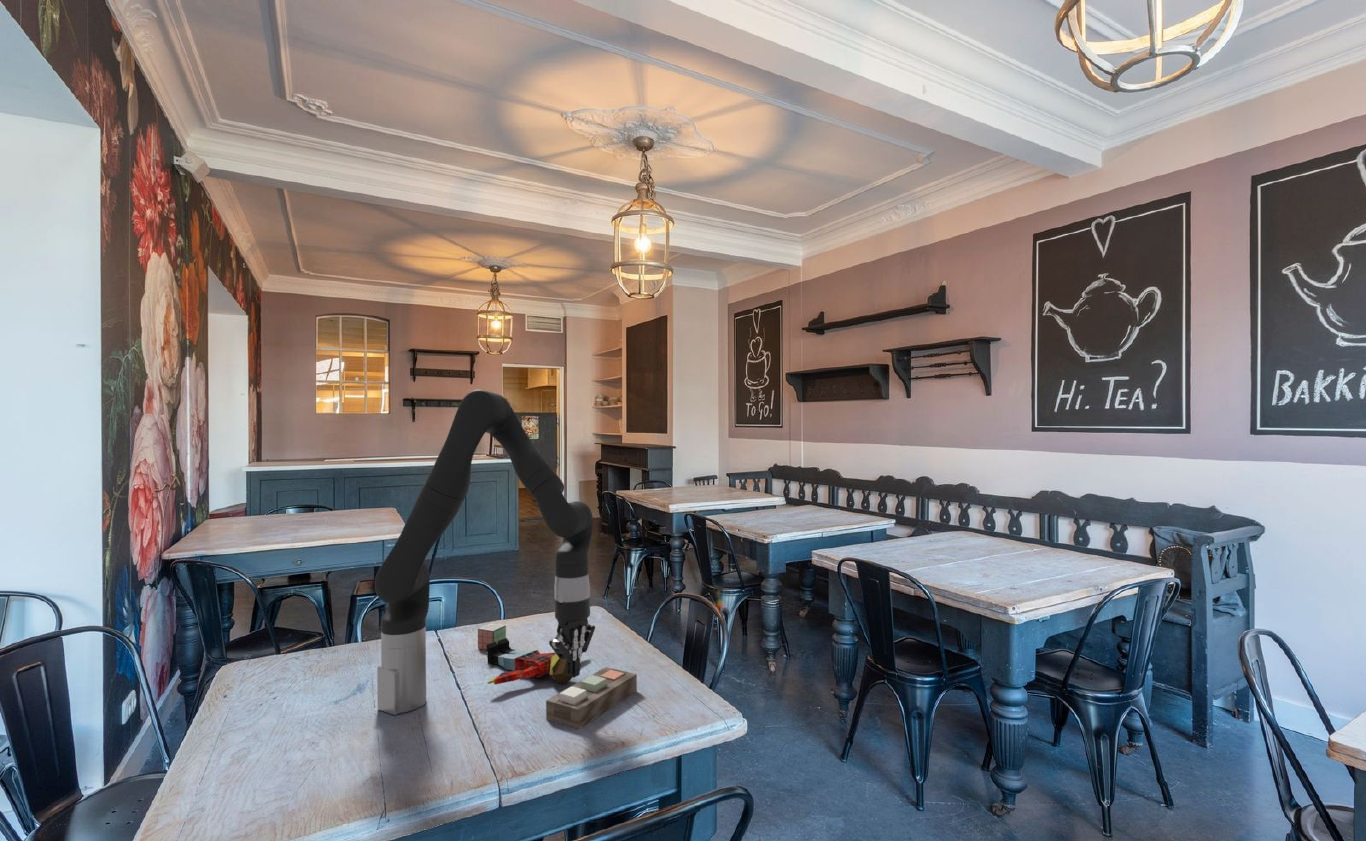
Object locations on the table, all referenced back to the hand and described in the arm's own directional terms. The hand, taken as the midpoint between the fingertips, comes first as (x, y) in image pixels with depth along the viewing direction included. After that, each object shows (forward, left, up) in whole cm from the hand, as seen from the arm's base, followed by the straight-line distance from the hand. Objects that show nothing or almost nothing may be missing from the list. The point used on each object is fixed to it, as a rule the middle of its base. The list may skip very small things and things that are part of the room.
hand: (573, 675), depth 135 cm
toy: (+14, +25, -9) cm, 30 cm away
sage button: (+7, 0, -6) cm, 9 cm away
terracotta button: (+14, 0, -8) cm, 16 cm away
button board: (+7, 0, -9) cm, 11 cm away
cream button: (0, 0, -6) cm, 6 cm away
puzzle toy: (+22, +49, -9) cm, 54 cm away
